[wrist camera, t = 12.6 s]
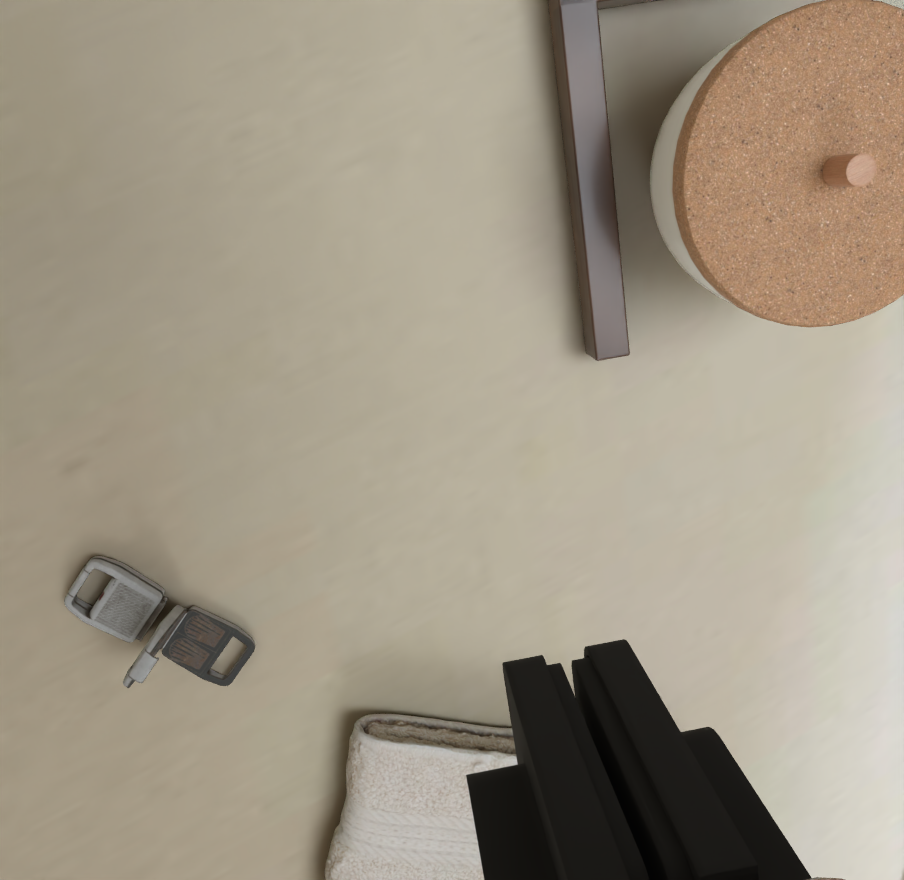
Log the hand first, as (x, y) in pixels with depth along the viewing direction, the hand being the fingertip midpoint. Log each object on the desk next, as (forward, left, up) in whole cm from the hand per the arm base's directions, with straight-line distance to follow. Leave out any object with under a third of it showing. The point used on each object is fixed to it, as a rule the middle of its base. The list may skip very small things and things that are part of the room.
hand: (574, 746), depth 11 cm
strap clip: (+10, -14, -27) cm, 32 cm away
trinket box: (-6, +14, -27) cm, 31 cm away
